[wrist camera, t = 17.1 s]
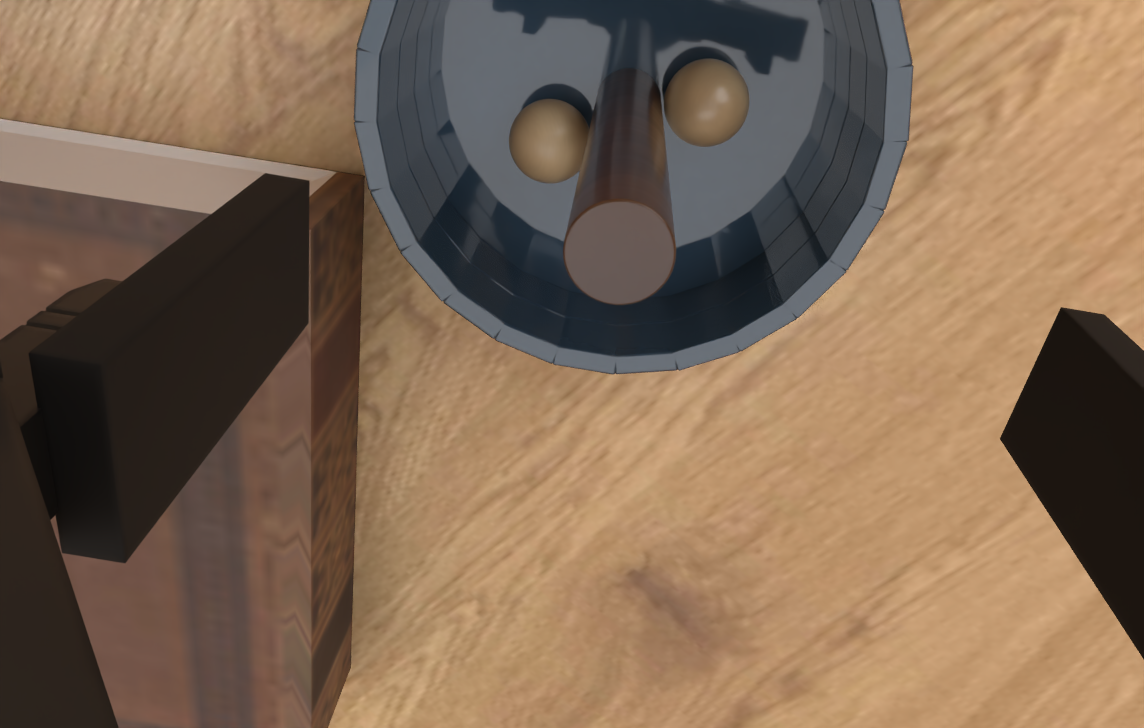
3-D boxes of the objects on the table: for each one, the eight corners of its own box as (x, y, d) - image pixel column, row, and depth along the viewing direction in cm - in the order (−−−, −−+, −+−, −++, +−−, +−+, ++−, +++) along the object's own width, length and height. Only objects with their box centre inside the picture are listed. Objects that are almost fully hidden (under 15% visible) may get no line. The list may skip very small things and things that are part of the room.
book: (364, 176, 36) (310, 229, 30) (350, 667, 49) (311, 770, 43) (-234, 81, 36) (-404, 117, 30) (-86, 599, 49) (-184, 693, 43)
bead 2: (683, 37, 32) (739, 41, 29) (725, 96, 33) (780, 104, 31) (632, 102, 31) (684, 111, 29) (677, 157, 33) (729, 170, 31)
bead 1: (602, 90, 31) (529, 94, 30) (611, 176, 32) (540, 184, 30) (559, 103, 34) (489, 107, 32) (568, 182, 34) (500, 189, 33)
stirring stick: (602, 62, 32) (572, 189, 18) (667, 74, 32) (687, 209, 18) (591, 127, 33) (555, 295, 19) (653, 138, 33) (663, 314, 19)
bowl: (414, -219, 29) (364, -245, 24) (935, -129, 29) (1000, -135, 24) (387, 269, 37) (346, 330, 32) (794, 338, 38) (819, 409, 32)
